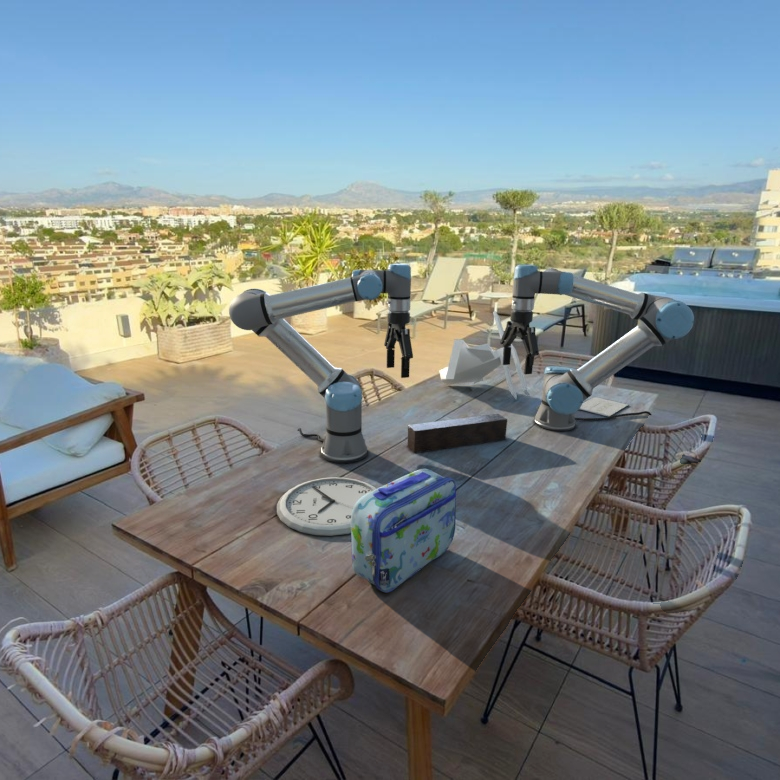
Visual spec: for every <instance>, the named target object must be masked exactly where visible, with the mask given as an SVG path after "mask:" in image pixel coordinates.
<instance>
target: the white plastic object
mask: <svg viewBox="0 0 780 780" xmlns="http://www.w3.org/2000/svg"><path fill="white" fill-rule="evenodd" d="M492 315H493V319H494V321H495V324H496V325H495V326H496V328H497V332H498V335H499V338H500V340H501V339H502V336H503V334H504V331H505V330H504V328H503V325H502V321H501V318H500V315H499V314H498V312H497V311H496V310H495V311H492ZM504 341H505V340H504ZM510 347H511V357H510V361H511V360H513V363H514V366H515V369H516V372H517V376H518V380H519V382H520V385H521V389H522V391H523V393H524V395H525V396H526V397H528V396H531V395H530V390H529V388H528V387H529V386H528V384H527V381H526V378H525V374H524V371H523V369H522V368H523V367H522V366H521V362H520V359H519V355H518V352H517V349H516V347H515V346H514V345H513V343H512V344H511V346H510ZM503 349H504V347H503V346H502V347H500V348H498V349H496V350H495V349H493V348H492V347H491V346H490V344H489V343H488V342H487V343H483V344H479V345H473V346H469V345H468V343H466V342H465V340H464V339H463V338H460V339H458V338H454V340H453V344H452V349H451V353H450V357H449V362H448V366H446V367H444V368H442V369H440V370H439V371H438V372H439V376H440V381H442V383H443V384H444V385H445V386H449V385H458V384H467V383H468V384H469V383H473V384H477V383H480V382H482V381H484V378H485V377H486V376H487V375H489V374H490V373H492V372H494V371H495V370H496V369H497V368H499V367H500V366H502V370H503V373H504V376H505V380H506V383H507V386H508V390H509V393H510V394H511V395H512V397H513V398H514V399H515V400H517V392H516V391H517V390H516V388H515V385H514V381H513V378H512V375H511V371H510V369H509V365H503Z"/></svg>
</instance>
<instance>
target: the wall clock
mask: <svg viewBox="0 0 780 780" xmlns="http://www.w3.org/2000/svg"><path fill="white" fill-rule="evenodd" d="M376 489H378V487H376V486H374V485H372V484H371V483H369V482H365V481H362V480H359V479H355V478H349V477H338V476H337V477H335V476H333V477H332V476H331V477H322V478H317V479H312V480H307V481H305V482H302V483H299V484H297V485H295V486H293V487H292V488H290V489H288V490H287V491H286V492H285V493H284V494H283V495H281V496H280V498H279V499H278V502H277V503H276V515H277V517H278V518H279V520H280V521H281V522H282V523H283V524H285V525H286V526H287V527H288V528H290V529H293V530H295V531H297V532H299V533H303V534H308V535H312V536H327V537H328V536H329V537H331V536H332V537H333V536H342V535H350V534H351V514H352V510H353V507H354V505H355V504H356V502H357V501H358V500H359V499H360V498H361V497H362V496H364V495H365V494H367V493H370V492H372V491H374V490H376Z"/></svg>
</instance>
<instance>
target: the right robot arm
mask: <svg viewBox="0 0 780 780" xmlns="http://www.w3.org/2000/svg"><path fill="white" fill-rule="evenodd" d="M536 294H537V295H538V294H539V295H540V294H542V295H543V294H544V295H559V296H567V297H571V298H574V299H578V300H581V301H583V302H587V303H589V304H590V303H591V304H593V305H597V306H599V307H603V308H606V309H610V310H613V311H616V312H619V313H622V314H626V315H628V316H629V317H630V318H631V319H632V320H635V321H637V325H636V326H635V327H633V328H632V329H631V330H630V331H629V332H627V333H625V334H624V335H623V336H622V337H620V338H619V339H617V340H616V341H614V342H613V343H612V344H611V345H609V346H607V347H606V348H605V349H604V350H602V351H601V352H600V353H598V354H597V355H595V356H594V357H592V358H591V359H590V360H588V361H587V362H586V363H584V364H583V365H582V366H580V367H579V368H577V369H576V368H572V367H567V366H558V365H557V366H556V365H555V366H554V365H553V366H546V367H545V368H544V373H543V384H542V394H541V402H540V405H537V406H536V410H537V411H536V413H535V417H534V424H535V425H536V426H537V427H539V428H542V429H544V430H549V431H556V432H567V431H572V430H574V429H575V428H576V421H584V422H585V421H586V422H588V421H589V422H591V421H592V422H593V421H594V422H595V421H607V420H613V419H616V418H620V417H621V418H622V417H628V416H640V415H645V414H647V415H648V416H653V414H652V413H651V412H650V411H648V410H643V411H639V412H628V413H626V412H625V413H620V414H615V415H611V416H609V417H608V416H604V417H576V416H575V413H576V412H578V411H579V410H580V407H581V406H582V403H584V402H585V401H587V399H589V398H590V397H592V396H593V392H594V389H596V388H597V387H598V386H599V385H600V384H602V383H604V382H605V381H607V380H608V379H610V378H611V377H612V376H614V375H615V374H616V373H618V372H620V371H621V370H622V369H623V368H625V367H626V366H628V365H630V363H632V362H633V361H634V360H636V359H638V358H639V357H641V356H642V355H644V354H645V353H646V352H647V351H649V350H650V349H652V348H653V347H663V346H664V345H666V344H667V343H669V342H670V341H671V340H677V339H681V338H683V337H685V336H687V334H688V333H690V331H691V330H692V328H693V327H694V324H695V323H694V322H695V315H694V312H693V311H692V309H691V307H689V306H688V305H687V304H686V303H684V302H683V301H680V300H677V299H673V298H672V297H668V296H660V295H655V294H649V293H646V292H643V291H642V292H640V293H636V292H633V291H629V290H625V289H622V288H619V287H616V286H615V287H614V286H612V285H609V284H605V283H602V282H599V281H595V280H592V279H589V278H585V277H582V276H578V275H576V274H574V273H573V272H569V271H562V270H558V269H557V268H553V267H550V268H547V269H545V270H544V271H540V270H539V269H538V265H535V264H517V265H516V266H515V268H514V274H513V284H512V299H511V309H512V310H511V311H510V317H509V318H510V320H507V321H506V326H505V329H504V330H503V331H504V334H503V336H502V339H501V338H500V342H499V344H500V345H502V348H503V347H504V349H503V365H508V366H509V365H511V360H510V357H511V347H510V346H511V344H512V345H513V343H514V341H515V340H516V338H517V337H518V338H520V340H521V342H522V344H523V346H524V349H525V352H526V355H525V360H524V371H523V375H524V376H526V375H532V374H533V366H534V363H535V357H536V356H539V355H540V351H539V345H538V340H537V335H536V326H530V323H532V322H533V318H534V312H533V310H534V309H535V299H536V297H535V295H536ZM504 340H505V341H504Z"/></svg>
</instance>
